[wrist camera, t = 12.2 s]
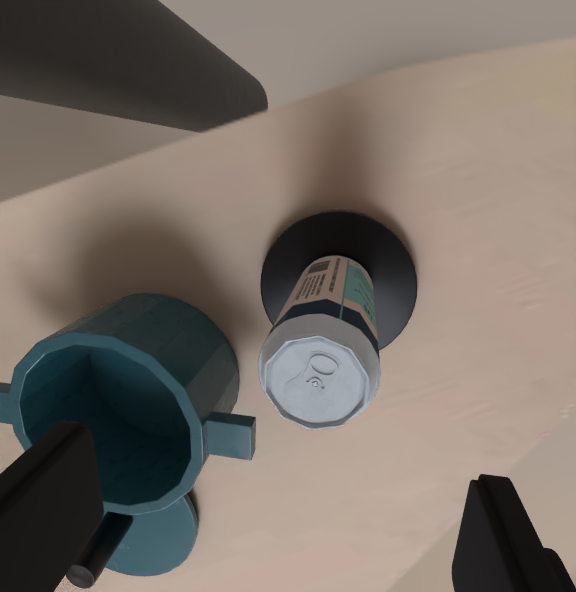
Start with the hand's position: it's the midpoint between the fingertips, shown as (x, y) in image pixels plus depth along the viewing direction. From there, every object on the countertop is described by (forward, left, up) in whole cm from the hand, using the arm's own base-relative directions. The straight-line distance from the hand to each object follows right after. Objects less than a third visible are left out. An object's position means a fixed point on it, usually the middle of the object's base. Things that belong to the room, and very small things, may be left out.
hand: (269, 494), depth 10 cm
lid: (+22, -16, -18) cm, 33 cm away
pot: (+8, -12, -19) cm, 24 cm away
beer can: (0, +1, -18) cm, 18 cm away
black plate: (0, +1, -19) cm, 19 cm away
